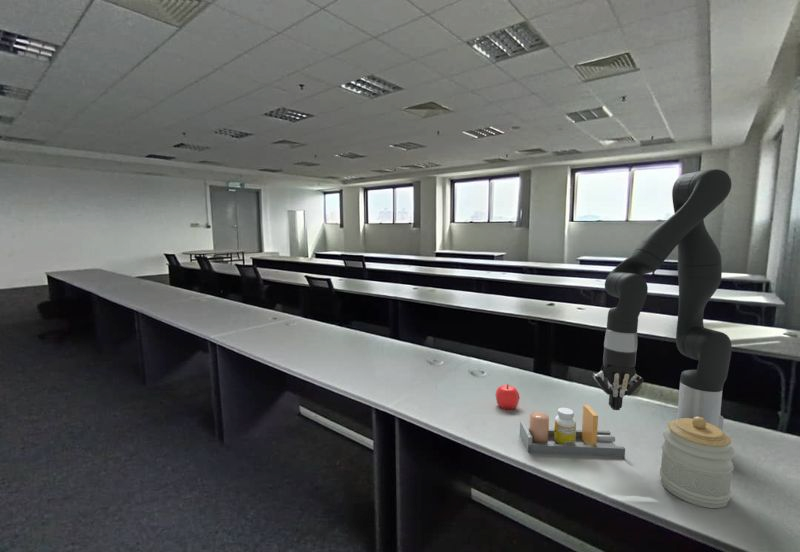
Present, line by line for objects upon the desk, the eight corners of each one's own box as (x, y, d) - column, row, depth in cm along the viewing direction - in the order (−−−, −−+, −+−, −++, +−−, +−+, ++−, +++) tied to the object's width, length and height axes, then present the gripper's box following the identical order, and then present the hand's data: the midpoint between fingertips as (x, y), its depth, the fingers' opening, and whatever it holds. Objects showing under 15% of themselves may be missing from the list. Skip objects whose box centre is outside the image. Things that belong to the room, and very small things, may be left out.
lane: (608, 440, 109) (609, 423, 108) (624, 458, 100) (625, 440, 99) (519, 437, 110) (520, 420, 110) (527, 454, 101) (528, 437, 101)
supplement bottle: (557, 437, 109) (558, 404, 108) (577, 443, 105) (579, 410, 104) (551, 445, 105) (552, 411, 104) (571, 452, 101) (573, 417, 100)
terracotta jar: (544, 438, 108) (545, 412, 107) (550, 448, 103) (551, 420, 102) (526, 438, 108) (527, 411, 107) (531, 448, 103) (532, 420, 102)
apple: (490, 404, 132) (490, 382, 131) (508, 400, 135) (509, 378, 134) (505, 414, 124) (505, 390, 124) (524, 409, 128) (525, 386, 127)
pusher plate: (607, 439, 107) (609, 405, 106) (619, 452, 101) (621, 416, 100) (581, 438, 108) (583, 404, 107) (591, 451, 101) (593, 415, 100)
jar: (668, 501, 84) (674, 425, 82) (652, 467, 96) (658, 401, 94) (741, 516, 79) (750, 437, 77) (715, 479, 91) (722, 409, 89)
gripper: (601, 350, 98) (596, 414, 100) (654, 352, 97) (648, 416, 99) (588, 342, 105) (584, 401, 107) (638, 343, 104) (632, 403, 106)
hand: (615, 408), depth 103 cm, fingers closed
